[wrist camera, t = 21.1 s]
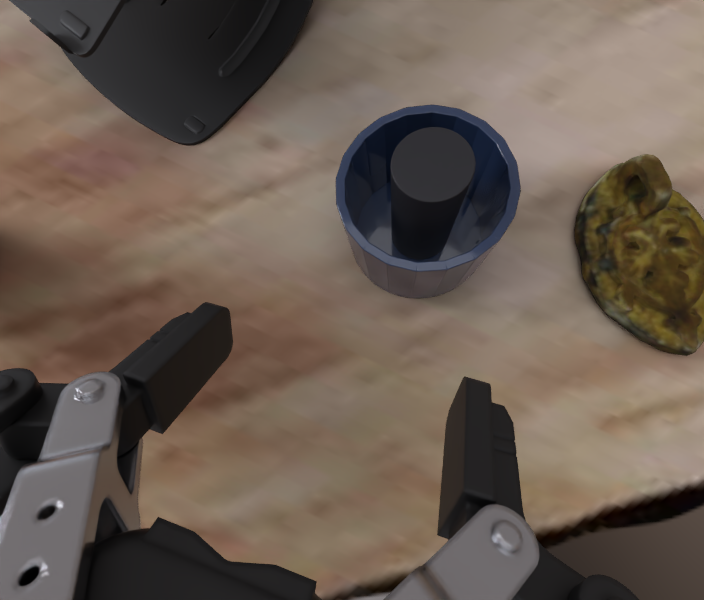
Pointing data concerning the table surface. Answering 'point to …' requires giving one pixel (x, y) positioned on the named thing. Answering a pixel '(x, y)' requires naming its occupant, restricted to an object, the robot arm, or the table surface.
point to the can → (375, 202)
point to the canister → (428, 189)
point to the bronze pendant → (644, 255)
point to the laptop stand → (173, 54)
